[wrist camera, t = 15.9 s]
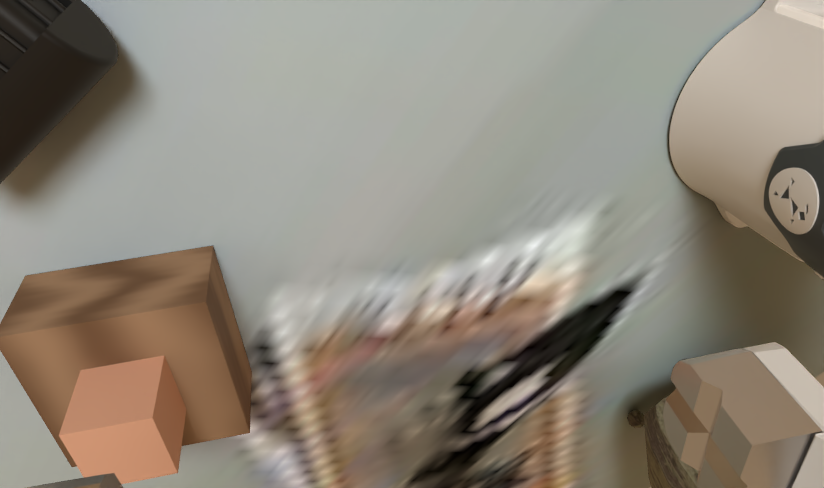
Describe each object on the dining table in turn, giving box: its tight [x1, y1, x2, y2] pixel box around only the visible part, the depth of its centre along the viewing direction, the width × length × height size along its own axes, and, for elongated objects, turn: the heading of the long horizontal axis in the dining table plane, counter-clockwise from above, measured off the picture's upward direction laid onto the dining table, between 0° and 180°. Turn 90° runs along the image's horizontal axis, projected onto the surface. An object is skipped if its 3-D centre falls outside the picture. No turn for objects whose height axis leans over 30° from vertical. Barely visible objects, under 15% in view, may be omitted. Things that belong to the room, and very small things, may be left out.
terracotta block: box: [59, 356, 186, 484], centre depth 39 cm, size 5×5×5 cm
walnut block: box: [0, 246, 252, 467], centre depth 43 cm, size 12×12×6 cm
